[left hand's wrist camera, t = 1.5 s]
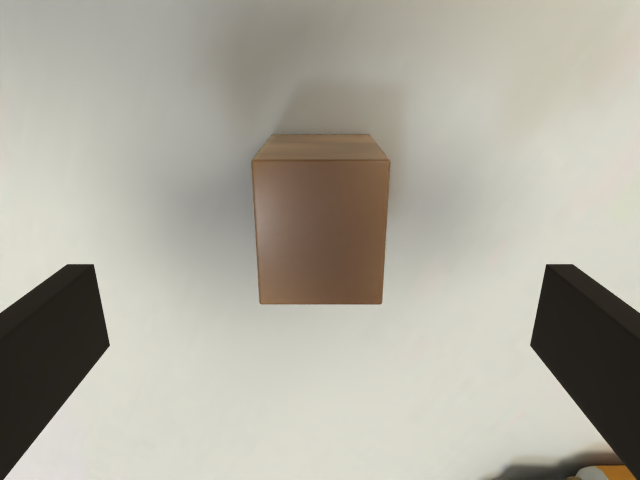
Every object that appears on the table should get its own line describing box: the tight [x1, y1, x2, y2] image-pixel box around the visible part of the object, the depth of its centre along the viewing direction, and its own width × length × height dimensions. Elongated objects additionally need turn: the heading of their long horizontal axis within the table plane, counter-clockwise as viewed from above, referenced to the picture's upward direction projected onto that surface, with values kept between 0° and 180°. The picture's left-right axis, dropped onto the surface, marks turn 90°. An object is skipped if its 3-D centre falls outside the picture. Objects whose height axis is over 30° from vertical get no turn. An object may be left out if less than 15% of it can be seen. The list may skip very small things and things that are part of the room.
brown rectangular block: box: [251, 134, 390, 304], centre depth 21 cm, size 5×6×7 cm
